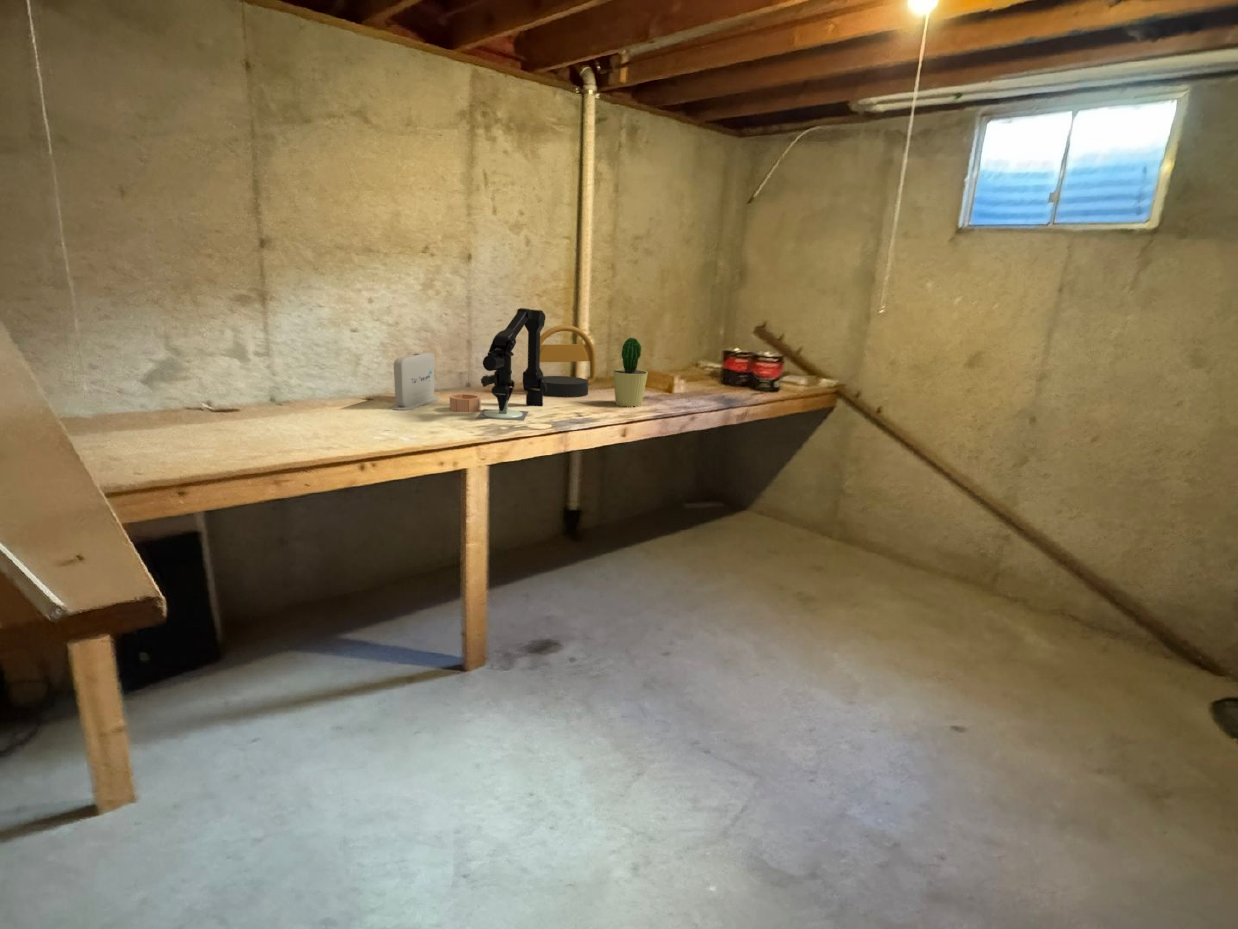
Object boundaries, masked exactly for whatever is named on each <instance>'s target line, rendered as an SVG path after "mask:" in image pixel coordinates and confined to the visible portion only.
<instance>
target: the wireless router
mask: <svg viewBox="0 0 1238 929" xmlns="http://www.w3.org/2000/svg"><path fill="white" fill-rule="evenodd" d="M393 377H394V378H393V380H394V393H395V395H394V396H395V397H394V398H395V404H392V405H389V410H393V411H413V410H416V409H419V408H421V407H424V406H427V405H430V404H432V403H434V402H438V401H440V400H441V397H439V396H435V355H434V354H433V353H432V352H427V351H426V352H424V351H423V352H418V353H413V354H408V355H404V356H399V357H396V359H395V360H394V362H393Z"/></svg>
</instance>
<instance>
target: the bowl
mask: <svg viewBox="0 0 1238 929" xmlns="http://www.w3.org/2000/svg"><path fill="white" fill-rule="evenodd" d="M481 398H482V397H481V395H478V394H472V393H471V394H470V393H458V394H451V395H450V396H449V410H450V411H452V412H456V413H474V412H475V413H476V412H479V411H480V410H482V408H481V407H482V399H481Z"/></svg>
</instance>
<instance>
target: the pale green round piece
mask: <svg viewBox="0 0 1238 929" xmlns="http://www.w3.org/2000/svg"><path fill="white" fill-rule="evenodd" d="M508 404H509V401H508V400H507V401H506V404H505V407H504V409H503V411H500V408H499V407H498V408H497V409H493V410H488V411H485V412H484V416H486V417H490V418H498V419H512V418H519V417H521V416H522V415H523V413H522V412H519V411H520V410H515V409H508V408H509V406H508Z"/></svg>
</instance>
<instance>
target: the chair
mask: <svg viewBox="0 0 1238 929" xmlns="http://www.w3.org/2000/svg"><path fill="white" fill-rule="evenodd" d="M559 332H570V333H572V334H573V333H574V334H576V335H577V336H579V337H580V338H581V339H582V340H583V342H584V343H585V344H583V343H579V344H578V343H577V344H576V343H575V344H574V343H572V344H569V343H567V344H565V343H564V344H563V343H561V344H559V343H558V344H557V343H555V344H547V343H546V344H543V343H544V341H545V340H546V339H548V338H549V337H550V336H551V335H553V334H556V333H559ZM567 362H568V363H569V362H571V363H572V362H577V363H578V362H589V378H588V379H586V378H583V377H577V376H568V375H567V376H566V375H546V376H544V375H543V378H544V381H545V383H546V385H547V392H545V393H543V397H544V396H546V397H552V398H563V399H564V398H565V399H566V398H573V399H574V398H582V397H587V395H589V386H590V385H592V384H593V383H594V382H595V380H596V376H597V375H596V371H597V370H596V369H597V367H596V364H597V362H596V350H595V347H594V344H593V342H592V341H591V339H590V338H589V336H588V335H587V334H586V333H585V332H584V331H583V330H582V329H580V328H578V327H576V326H574V325H569V324H563V325H562V324H560V325H555V326H553V327H550V328H548V329H547V330H545V332H543V333H542V334H540V363H567Z"/></svg>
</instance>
